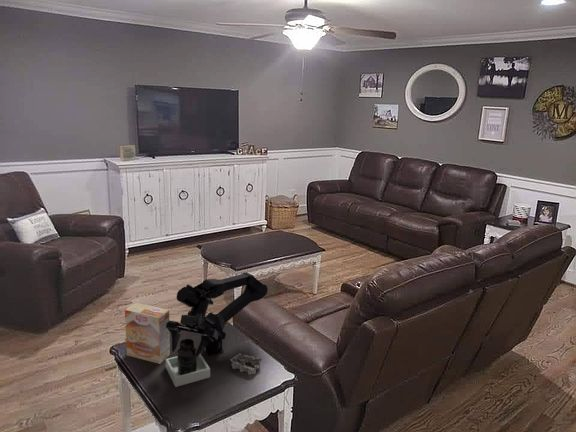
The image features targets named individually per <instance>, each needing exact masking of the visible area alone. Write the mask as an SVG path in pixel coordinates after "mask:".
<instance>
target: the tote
mask: <svg viewBox="0 0 576 432" xmlns="http://www.w3.org/2000/svg"><path fill="white" fill-rule="evenodd" d="M165 369H166V371H167V372H168V375H169V377H170V379H171V381H172V383H173V385H174V386H175V388H177V387H180V386H184V385H188V384H190V383H195V382H199V381H202V380H205V379H208V378H211V368H210V366H209V365H208V363H207V361H206V360H205V359H204V356H202V354H201V353H200V354H199V356H198V357H197V371H195V372H191V373H187V374H184V375H180V374H179V373H178V363H177V356H173V357H172V356H171V357H167V358H166V359H165Z"/></svg>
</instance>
